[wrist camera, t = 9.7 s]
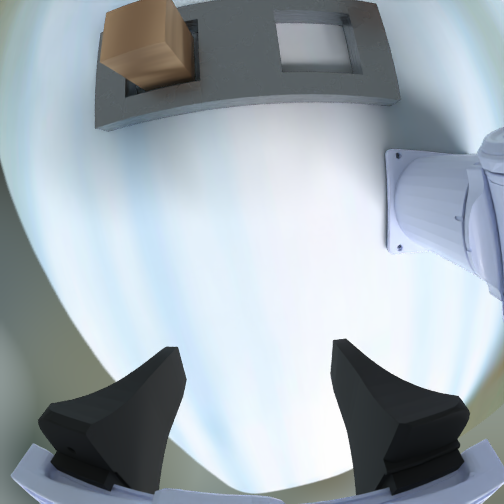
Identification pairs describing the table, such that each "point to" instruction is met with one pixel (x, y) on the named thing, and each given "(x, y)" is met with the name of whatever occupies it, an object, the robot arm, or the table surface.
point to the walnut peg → (148, 44)
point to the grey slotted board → (257, 63)
